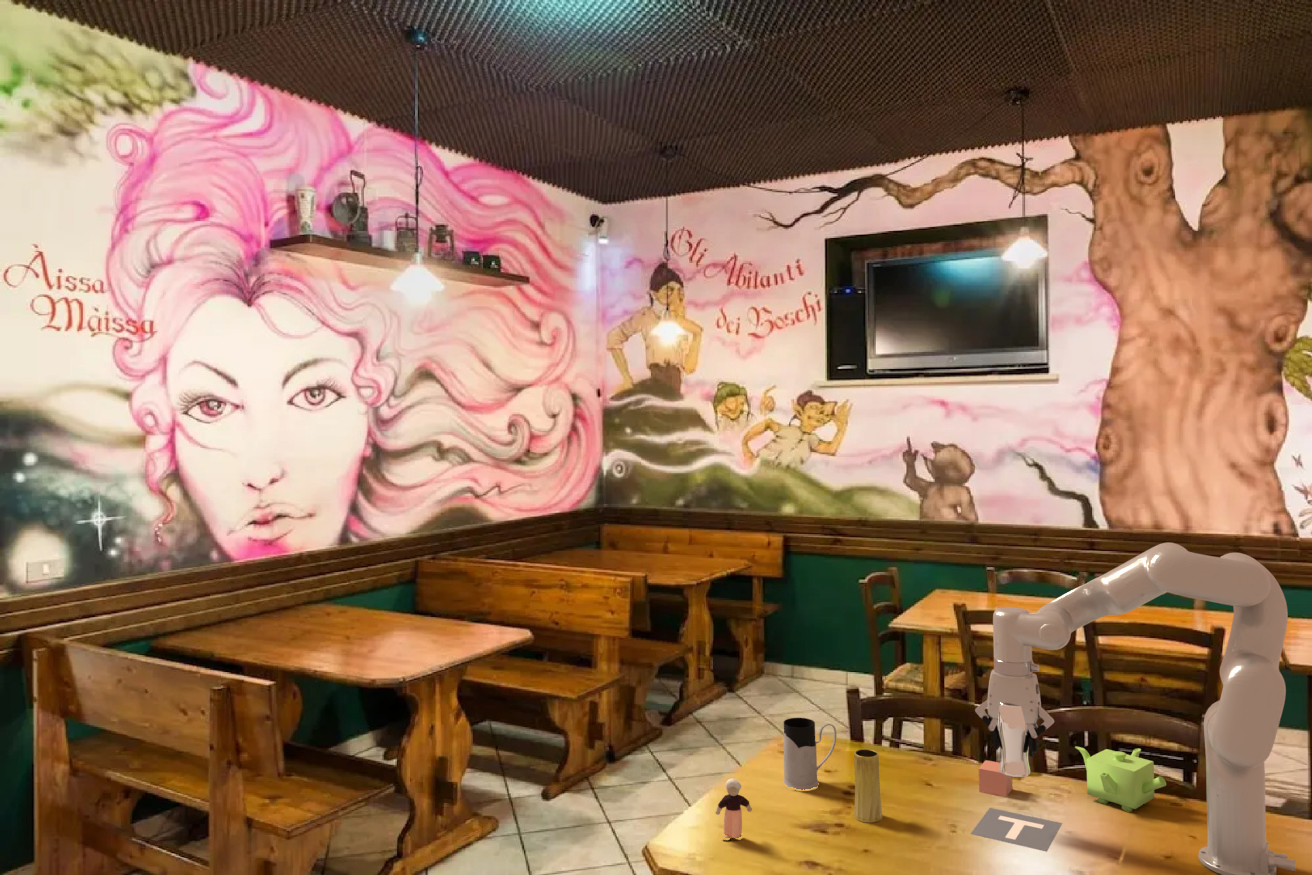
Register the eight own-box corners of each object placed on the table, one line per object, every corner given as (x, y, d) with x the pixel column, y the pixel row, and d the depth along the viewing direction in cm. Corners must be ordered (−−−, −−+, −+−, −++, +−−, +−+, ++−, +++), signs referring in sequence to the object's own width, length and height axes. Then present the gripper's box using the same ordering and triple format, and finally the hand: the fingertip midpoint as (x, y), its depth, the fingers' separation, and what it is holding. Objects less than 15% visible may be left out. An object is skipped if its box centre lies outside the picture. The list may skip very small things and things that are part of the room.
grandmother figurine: (720, 844, 189) (719, 784, 189) (714, 836, 193) (713, 777, 193) (755, 839, 191) (753, 779, 191) (748, 831, 195) (747, 772, 195)
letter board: (1062, 824, 194) (1062, 822, 194) (1046, 853, 181) (1046, 851, 181) (989, 809, 202) (989, 807, 202) (970, 835, 190) (970, 833, 190)
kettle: (1075, 788, 212) (1074, 740, 212) (1138, 788, 211) (1137, 741, 211) (1100, 815, 197) (1099, 764, 197) (1168, 816, 196) (1167, 765, 196)
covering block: (1012, 790, 212) (1011, 764, 212) (1006, 799, 207) (1005, 773, 207) (986, 785, 216) (985, 760, 216) (979, 794, 211) (978, 768, 211)
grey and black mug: (776, 780, 222) (774, 719, 222) (828, 771, 227) (826, 712, 226) (792, 793, 214) (790, 730, 214) (846, 784, 218) (844, 722, 218)
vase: (850, 820, 199) (849, 755, 199) (858, 809, 204) (856, 746, 204) (878, 825, 196) (876, 759, 196) (885, 813, 202) (883, 750, 201)
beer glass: (1035, 778, 188) (1034, 706, 187) (1000, 777, 189) (998, 705, 189) (1028, 766, 194) (1027, 696, 194) (994, 764, 196) (993, 695, 196)
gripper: (1060, 668, 189) (1062, 753, 190) (976, 657, 199) (977, 738, 200) (1052, 677, 183) (1054, 765, 184) (966, 665, 193) (967, 749, 193)
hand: (1014, 750), depth 192 cm, fingers closed on beer glass, 6 cm apart
